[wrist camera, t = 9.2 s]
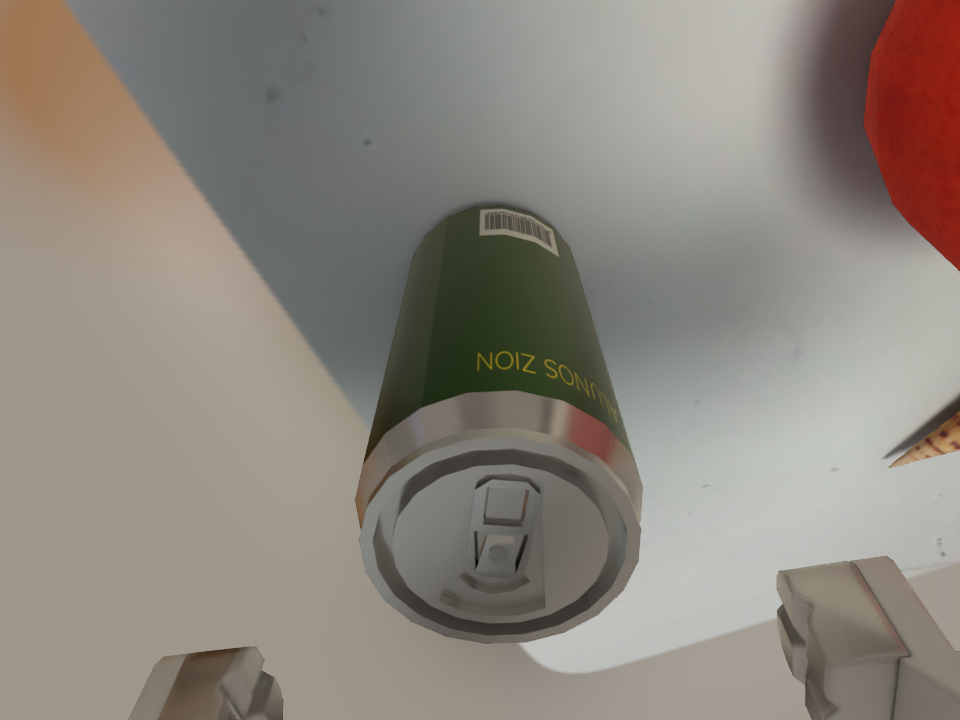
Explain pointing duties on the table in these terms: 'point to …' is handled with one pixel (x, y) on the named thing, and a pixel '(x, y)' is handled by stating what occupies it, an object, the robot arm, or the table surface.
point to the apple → (919, 117)
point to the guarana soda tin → (497, 442)
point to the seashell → (934, 443)
